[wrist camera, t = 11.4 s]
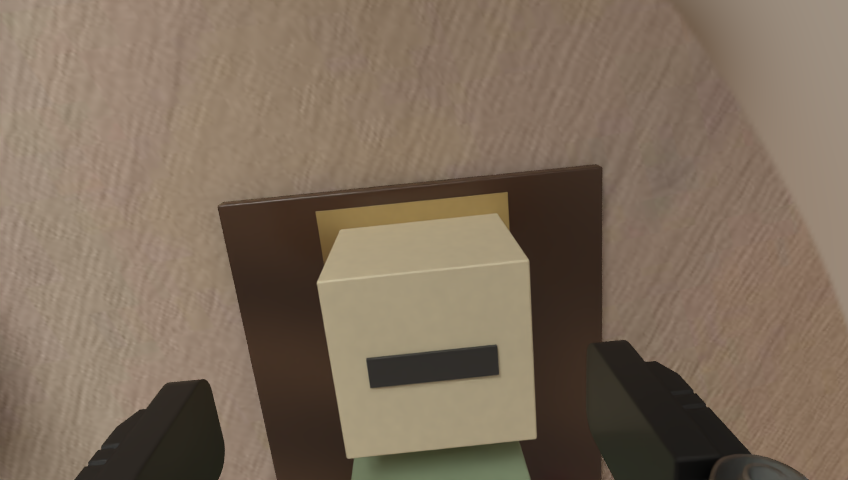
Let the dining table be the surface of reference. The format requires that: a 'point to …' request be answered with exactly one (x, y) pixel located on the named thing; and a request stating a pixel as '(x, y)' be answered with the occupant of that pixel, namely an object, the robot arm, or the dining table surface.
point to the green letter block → (447, 464)
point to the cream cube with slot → (429, 335)
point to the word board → (332, 211)
